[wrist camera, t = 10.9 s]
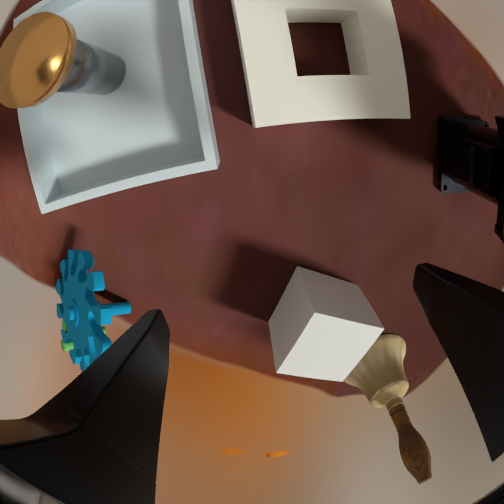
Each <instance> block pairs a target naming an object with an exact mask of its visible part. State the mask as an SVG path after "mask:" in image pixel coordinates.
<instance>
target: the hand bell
mask: <svg viewBox="0 0 504 504" xmlns="http://www.w3.org/2000/svg"><path fill="white" fill-rule="evenodd" d="M405 353H406V344H405V341H404V339H403V338H402V337H400V336H398V335H395V334H384V335H379V337H378V338H377V339H376V341H375V342H374V343H373V345H372V346H371V347H370V349H369V350H368V351H367V352H366V354H365V355H364V356H363V357H362V359H361V360H360V361H359V362H358V364H357V365H356V366H355V367H354V369H353V370H352V371H351V372H350V373H349V375H348V376H347V377H346V378H345V379H344V380H343V381H344V382H346V383H347V384H349V385H352V386H356V387H358V388H359V389H361V390H362V392H363V393H364V394H365V396H366V397H367V399H368V400H369V402H370V404H371V405H372V406H374V407H376V408H381V407H387V409H388V411H389V415H390V416H391V417H392V420H393V423H394V425H395V427H396V429H397V432H398V436H399V449H400V454H401V457H402V460H403V463H404V465H405V467H406V468H407V470H408V471H409V472H410V473H411V474H412V475H413V476H414V478H415V479H416V480H417V482H418V483H419V484H421V483H423V482H426V481H427V480H429V479H431V477H432V475H431V457H430V452H429V449H428V447H427V444H426V442H425V441H424V439H423V438H422V436H421V435H420V434H419V433H418V432H417V431H416V429H415V428H414V427H413V425H412V424H411V422H410V419H409V416H408V414H407V411H406V410H405V406H404V405H403V402H402V399H401V398H402V397H403V396H404V395H405V393H406V392H407V390H408V386H409V385H408V381H407V379H406V376H405V373H404V368H403V359H404V357H405Z"/></svg>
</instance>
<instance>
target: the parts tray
mask: <svg viewBox="0 0 504 504" xmlns="http://www.w3.org/2000/svg"><path fill="white" fill-rule="evenodd" d="M39 12H51V13H54V14H56V15H59V16H61V17H63V18H65V19H67V20H68V21H70V22H71V24H72V25H73V27H74V29H75V32H76V36H77V39H79V40H81V41H84V42H86V43H89V44H91V45H94V46H96V47H99V48H101V49H104V50H106V51H108V52H111V53H113V54H115V55H118V56H119V57H121V58H122V59H123V61H124V62H125V65H126V75H125V78H124V80H123V82H122V84H121V85H120V86H119V87H118V88H117V89H116V90H115V91H113V92H112V93H109V94H106V95H97V94H84V93H64V92H55V93H54V94H53V95H52V96H51V97H50V98H49V99H47V100H46V101H45V102H43V103H41V104H39V105H37V106H33V107H25V108H17V111H18V118H19V124H20V130H21V136H22V141H23V146H24V151H25V155H26V160H27V164H28V168H29V172H30V176H31V180H32V183H33V187H34V190H35V194H36V197H37V200H38V204H39V207H40V210H41V213H42V214H45V213H47V212H50V211H53V210H56V209H59V208H63V207H66V206H69V205H72V204H75V203H78V202H82V201H85V200H88V199H92V198H95V197H99V196H102V195H106V194H109V193H113V192H117V191H121V190H124V189H128V188H132V187H136V186H140V185H144V184H148V183H152V182H157V181H161V180H165V179H170V178H174V177H179V176H184V175H189V174H194V173H199V172H204V171H209V170H214V169H218V166H219V163H220V158H219V153H218V147H217V142H216V136H215V130H214V125H213V119H212V113H211V108H210V102H209V96H208V90H207V85H206V79H205V73H204V67H203V61H202V55H201V49H200V43H199V37H198V31H197V24H196V18H195V12H194V5H193V0H42V1H40V2H39V3H37V4H36V5H34V6H33V7H31V8H30V9H28V10H27V11H25V12H24V13H22V14H21V15H20V16H18V17H17V18H15V19H14V21H13V29H14V28H15V27H16V26H17V25H18V24H19V23H20V22H21V21H23V20H24V19H26V18H27V17H29V16H31V15H33V14H35V13H39Z"/></svg>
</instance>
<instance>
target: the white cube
mask: <svg viewBox="0 0 504 504" xmlns="http://www.w3.org/2000/svg"><path fill="white" fill-rule="evenodd" d="M268 323H269V329H270V336H271V342H272V349H273V355H274V361H275V368H276V373H281V374H288V375H294V376H301V377H308V378H315V379H323V380H332V381H341V382H343V380H344V379H345V378H346V377H347V376H348V375H349V373H350V372H351V371H352V370H353V369H354V367H355V366H356V365H357V364H358V362H359V361H360V360H361V359H362V357H363V356H364V355H365V354H366V352H367V351H368V350H369V349H370V347H371V346H372V345H373V343H374V342H375V341H376V339H377V338H378V337H379V335H380V334H381V333H382V331H383V330H384V327H383V325H382V324H381V322H380V320H379V319H378V317H377V315H376V314H375V312H374V311H373V309H372V307H371V306H370V304H369V302H368V301H367V299H366V298H365V296H364V294H363V293H362V291H361V290H360V288H359V287H358V285H356V284H353V283H350V282H347V281H344V280H340V279H337V278H334V277H331V276H328V275H324V274H321V273H318V272H315V271H312V270H308V269H305V268H302V267H299V266H297V267H296V269H295V271H294V273H293V275H292V277H291V279H290V281H289V283H288V285H287V287H286V289H285V291H284V293H283V295H282V297H281V299H280V301H279V303H278V305H277V306H276V308H275V310H274V312H273V314H272V316H271V318H270V320H269V322H268Z"/></svg>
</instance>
